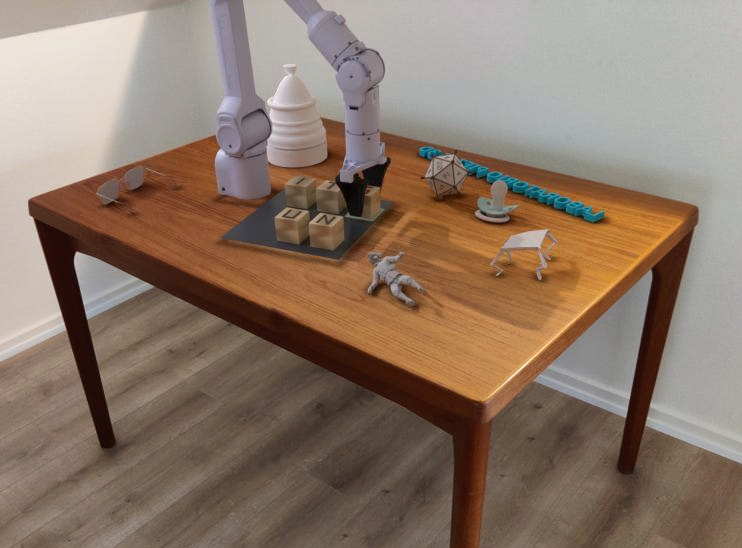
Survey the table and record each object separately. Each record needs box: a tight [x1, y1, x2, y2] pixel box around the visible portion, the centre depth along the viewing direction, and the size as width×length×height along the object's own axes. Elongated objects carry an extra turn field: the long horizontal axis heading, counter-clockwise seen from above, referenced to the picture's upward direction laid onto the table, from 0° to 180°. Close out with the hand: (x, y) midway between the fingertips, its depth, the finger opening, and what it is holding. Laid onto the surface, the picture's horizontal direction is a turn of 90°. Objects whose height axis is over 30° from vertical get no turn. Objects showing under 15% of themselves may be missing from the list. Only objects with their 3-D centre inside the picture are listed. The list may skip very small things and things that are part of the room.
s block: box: [349, 186, 381, 219], centre depth 128 cm, size 4×4×4 cm
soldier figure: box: [366, 251, 427, 307], centre depth 108 cm, size 8×5×12 cm
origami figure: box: [489, 229, 559, 281], centre depth 112 cm, size 12×8×5 cm
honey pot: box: [266, 63, 328, 168], centre depth 151 cm, size 13×13×18 cm
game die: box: [419, 149, 473, 201], centre depth 135 cm, size 9×8×10 cm
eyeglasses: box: [95, 165, 179, 215], centre depth 139 cm, size 14×8×4 cm, turn 155°
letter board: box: [219, 175, 395, 261], centre depth 127 cm, size 22×24×5 cm
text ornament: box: [419, 146, 606, 223], centre depth 141 cm, size 45×3×1 cm, turn 39°
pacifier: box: [474, 180, 519, 224], centre depth 127 cm, size 7×6×6 cm
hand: (364, 207), depth 128 cm, fingers open, 7 cm apart
